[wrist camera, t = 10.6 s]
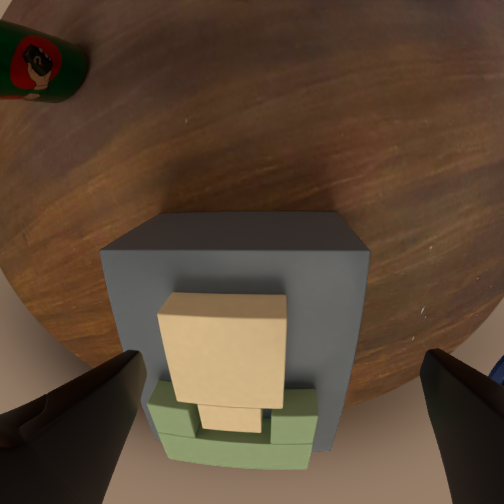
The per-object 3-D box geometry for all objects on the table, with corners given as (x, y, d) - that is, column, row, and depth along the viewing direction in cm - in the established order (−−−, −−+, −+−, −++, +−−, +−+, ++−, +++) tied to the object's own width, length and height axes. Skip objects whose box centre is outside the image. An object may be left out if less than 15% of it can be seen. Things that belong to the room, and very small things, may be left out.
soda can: (84, 34, 16) (-25, -6, 5) (96, 81, 17) (-29, 56, 6) (41, 68, 17) (-68, 55, 6) (51, 115, 18) (-69, 118, 7)
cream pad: (286, 293, 13) (287, 318, 11) (281, 406, 15) (281, 433, 13) (172, 291, 13) (156, 313, 11) (192, 400, 15) (183, 426, 13)
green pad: (316, 388, 14) (318, 416, 12) (306, 444, 16) (307, 469, 14) (158, 379, 15) (146, 403, 13) (176, 436, 17) (168, 458, 15)
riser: (336, 211, 19) (371, 250, 12) (321, 376, 24) (330, 451, 16) (159, 213, 20) (99, 249, 13) (183, 371, 25) (155, 439, 17)
